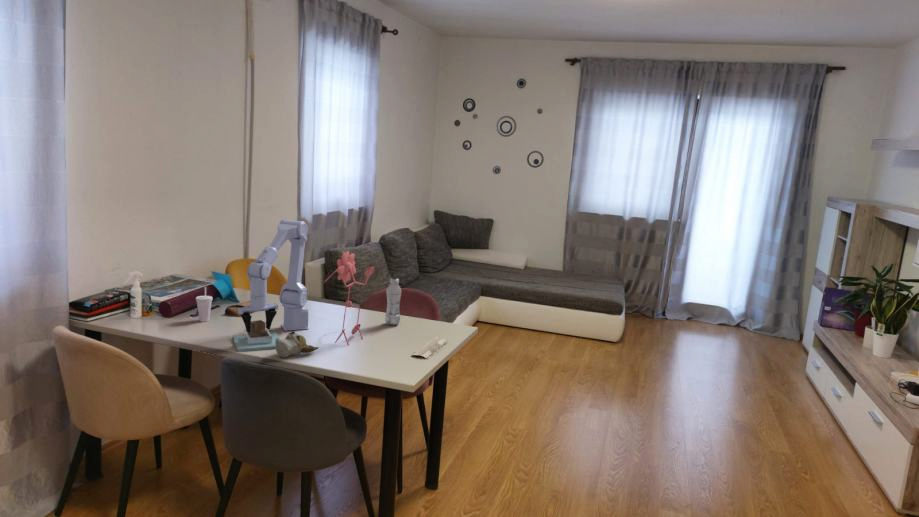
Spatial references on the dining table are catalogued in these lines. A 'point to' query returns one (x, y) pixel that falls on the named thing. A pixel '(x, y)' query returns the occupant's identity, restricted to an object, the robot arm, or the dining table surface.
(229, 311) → the sunglasses case
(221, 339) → the dining table surface
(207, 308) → the smoothie
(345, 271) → the figurine
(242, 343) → the board
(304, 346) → the ceramic sculpture
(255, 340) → the socket
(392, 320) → the plastic bottle
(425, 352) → the newspaper
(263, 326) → the peg
